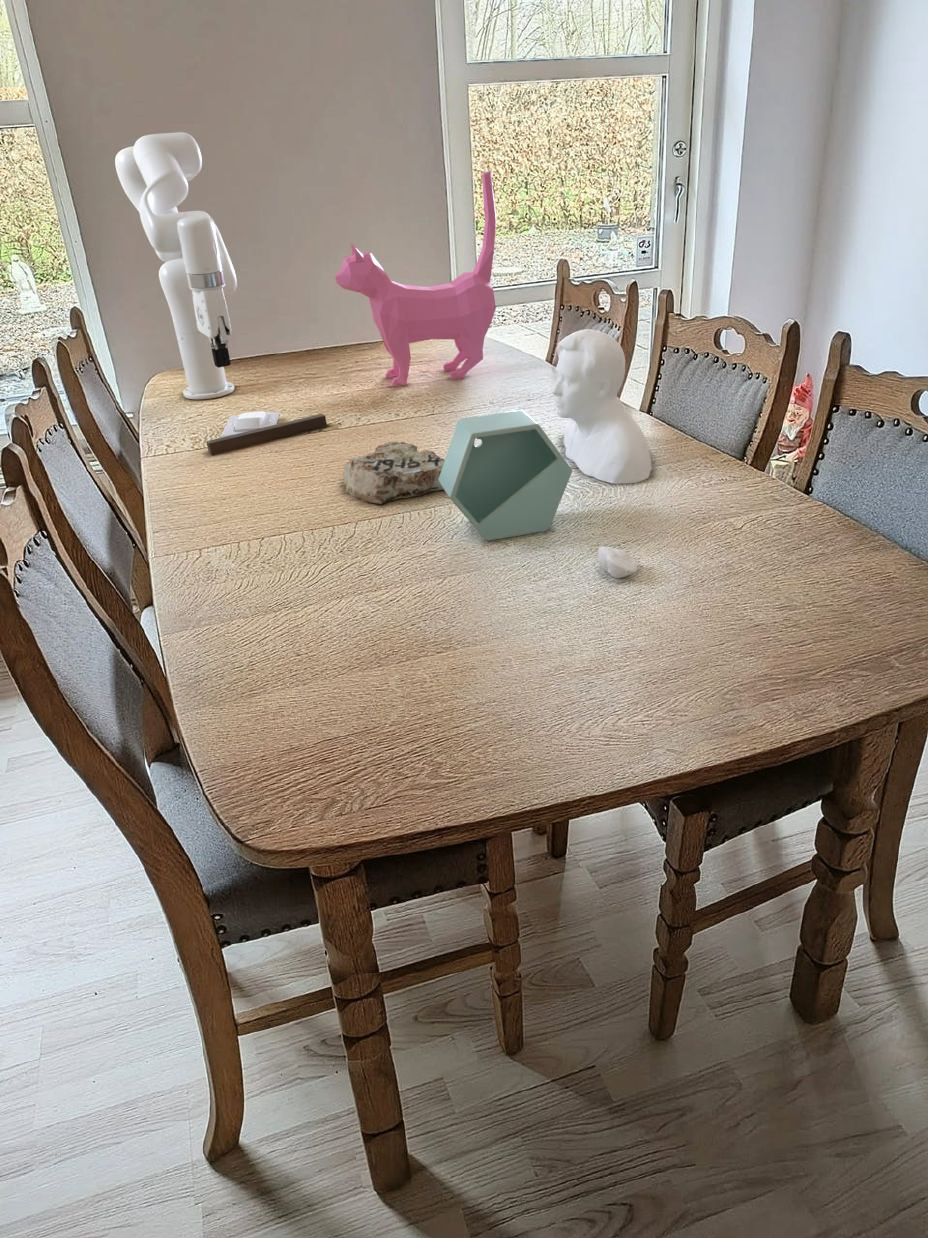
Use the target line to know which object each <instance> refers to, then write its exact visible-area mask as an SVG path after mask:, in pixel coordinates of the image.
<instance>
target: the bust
mask: <svg viewBox="0 0 928 1238" xmlns="http://www.w3.org/2000/svg"><path fill="white" fill-rule="evenodd" d="M556 350H557V351H556V353H557V356H558V357H557V358H558V361H557V364H556V366H555V371H554V372H555V375H556V383H555V385H554V386H553V388H552V391H551V394H553V395H554V396H555V400H554V401H555V405H556V413H557V414H556V415H557V416H558V417H560V418H563V419H568V421H567V422H566V424H565V426H564V431H563V447H564V448H565V453H564V454H565V457H566V458H567V459H569V460H571V461H572V462H574V464H575V465H576V467H578V469H579V470H580V471H581V472H582V473H583V474H585V475H586V476H589V477H593V478H595V479H596V480H599V481H601V482H607V483H609V484H613V485H614V484H616V485H617V484H619V485H620V484H621V485H623V484H624V485H625V484H627V485H628V484H634V483H635V484H636V483H639V482H643V481H645V480H646V479H648V478H649V477H650V475H651V471H652V470H653V469H652V468H653V467H652V459H651V453H650V448H649V444H648V441H647V438H646V435H645V434H644V431H643V430H642V428H641V427H640V425H639V424H638V422H637V421H636V420H635V419H634V417H633V416H632V414H631V413H630V411H628V410H627V409H626V407H625V406H624V404H623V402H622V400H621V398H620V397H618V395H619V392H620V390H621V387H622V385H623V382H624V379H625V375H626V356H625V353H624V350H623V348H622V346H621V344H620V343H619V342H618V341H617V340H616V339H615V338H614V337H613V336H611V335H610V334H608V333H606V332H603V331H601V330H597V329H591V328H585V329H580V330H577V331H574V332H572V333H571V334H569V335H567V336H565V337H563V339H562V340H560V341H559V342H558V344H557V349H556Z"/></svg>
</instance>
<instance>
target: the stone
mask: <svg viewBox="0 0 928 1238" xmlns="http://www.w3.org/2000/svg"><path fill="white" fill-rule="evenodd" d="M444 461H445V458H442V457H440V456H439V455H437V454H436V453H435V451H434V450H428V449H424V450H422V451H418V446H416V445H415V444H413V443H407V442H405V441H401V442H398V441H388V442H386V443H383V444H380V445H377V446H376V447H375V449H374V451H373V452H371V453H368V454H365V455H362V456H358V457H353V458H350V459H349V460H348V461H347V462H346V464H345V466H344V468H343V469H344V470H343V485H344V487H345V493H347V494H349V495H350V496H351V497H354V498H358V499H360V500H362V501H363V502H366V503H371V504H378V505H384V504H385V503H387V502H390V501H394V500H398V499H406V498H412V497H419V496H423V495H424V494H429V493H430V492H435V491H436V492H437V491H445V490H444V489H443V487H442V486H441V484H440V482H439V481H438V479H439V476H440V473H441V470H442V467H443V464H444Z"/></svg>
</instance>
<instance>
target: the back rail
mask: <svg viewBox="0 0 928 1238" xmlns="http://www.w3.org/2000/svg"><path fill="white" fill-rule="evenodd" d="M326 417H327V416H326V415H325V414H323V413H318V414H315V415H310V416H305V417H302V418H298V419H293V420H289V421H284V422H282V423H277V424H276V425H272V426H268V427H264V428H260V429H255V430H251V431H247V432H243V433H239V434H234V435H230V436H226V437H222V438H221V437H218V438H214V439H210V440H206V441H205V442H206V443H205V444H206V447H207V451H208V454H210V455H211V456H215V455H218V454H223V453H226V452H230V451H235V450H239V449H242V448H247V447H251V446H255V445H259V444H263V443H268V442H271V441H275V440H279V439H283V438H287V437H291V436H295V435H300V434H304V433H307V432H312V431H315V430H320V429H325V428H327V427H328V424H327V418H326Z"/></svg>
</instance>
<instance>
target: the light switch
mask: <svg viewBox="0 0 928 1238" xmlns="http://www.w3.org/2000/svg"><path fill="white" fill-rule="evenodd" d="M279 418H280V414H279V412H277V411H275V412H274V411H273V412H267V411H262V410H261V411H252V412H251V411H250V412H244V413H243V412H242V413H240V414H237V415H230V416H229V418H228V419H227V422H226V424H225V426H224V428H223V430H222V433H221V434H220V438H222V437H226V436H230V435H234V434H239V433H243V432H247V431H251V430H255V429H260V428H264V427H268V426H272V425H276V424H278V421H279Z"/></svg>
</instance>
